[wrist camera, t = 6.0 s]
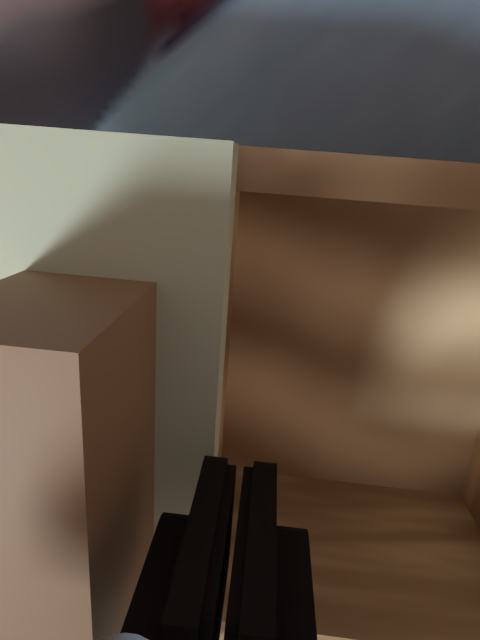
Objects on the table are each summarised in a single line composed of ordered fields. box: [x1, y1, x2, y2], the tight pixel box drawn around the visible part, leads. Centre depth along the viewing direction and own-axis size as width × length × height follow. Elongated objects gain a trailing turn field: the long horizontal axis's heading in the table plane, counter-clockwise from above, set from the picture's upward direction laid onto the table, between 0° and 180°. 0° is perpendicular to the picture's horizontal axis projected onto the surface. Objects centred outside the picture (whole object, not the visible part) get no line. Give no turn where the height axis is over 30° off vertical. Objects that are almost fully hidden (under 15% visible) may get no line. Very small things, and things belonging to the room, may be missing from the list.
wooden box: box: [218, 145, 480, 640], centre depth 17 cm, size 16×14×9 cm
